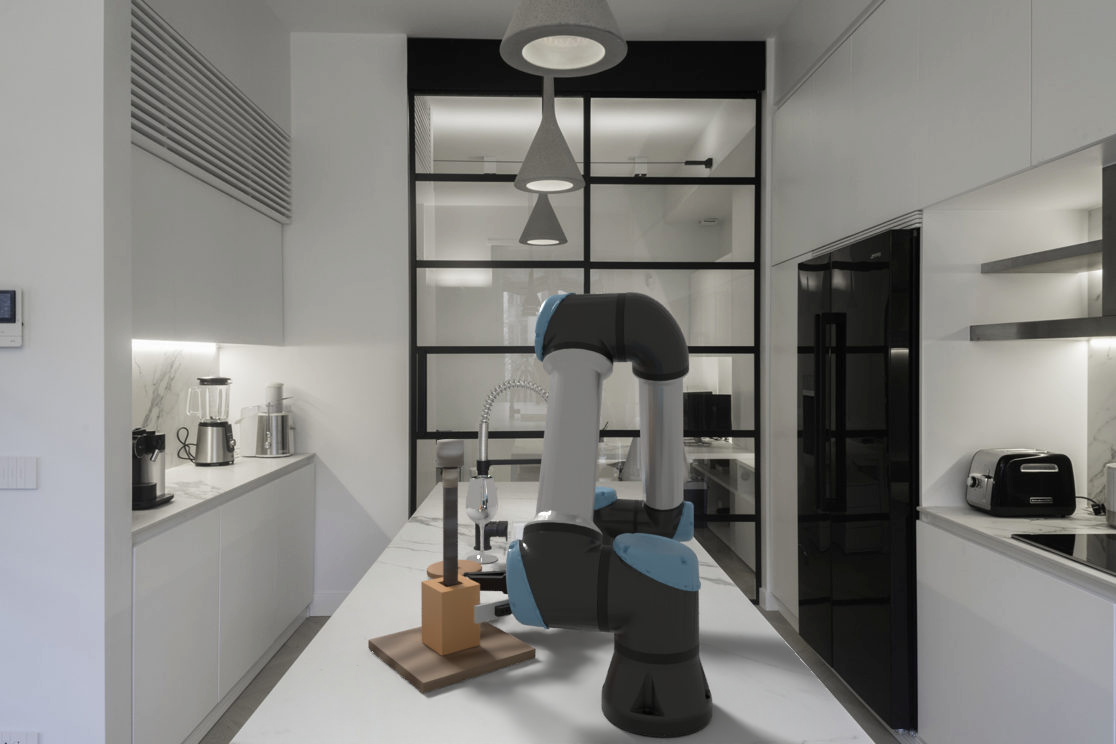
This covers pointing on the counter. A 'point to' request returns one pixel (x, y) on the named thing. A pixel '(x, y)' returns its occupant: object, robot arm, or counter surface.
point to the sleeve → (450, 615)
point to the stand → (407, 645)
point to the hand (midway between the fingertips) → (453, 602)
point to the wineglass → (481, 510)
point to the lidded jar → (463, 566)
